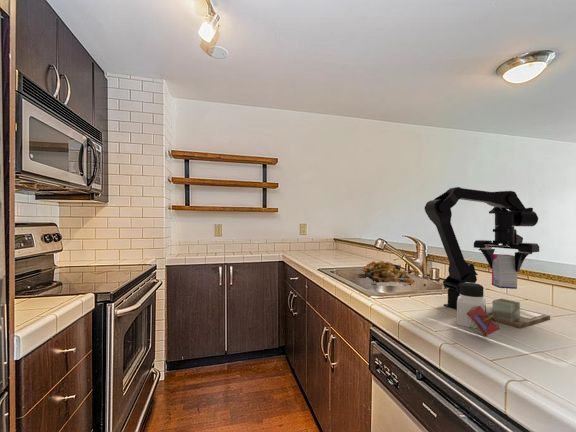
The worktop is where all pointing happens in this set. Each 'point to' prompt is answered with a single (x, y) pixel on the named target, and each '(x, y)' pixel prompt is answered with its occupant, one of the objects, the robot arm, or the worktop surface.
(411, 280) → the brown irregular low mound
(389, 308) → the worktop surface
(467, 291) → the medicine bottle
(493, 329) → the geometric puzzle
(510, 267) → the supplement box
